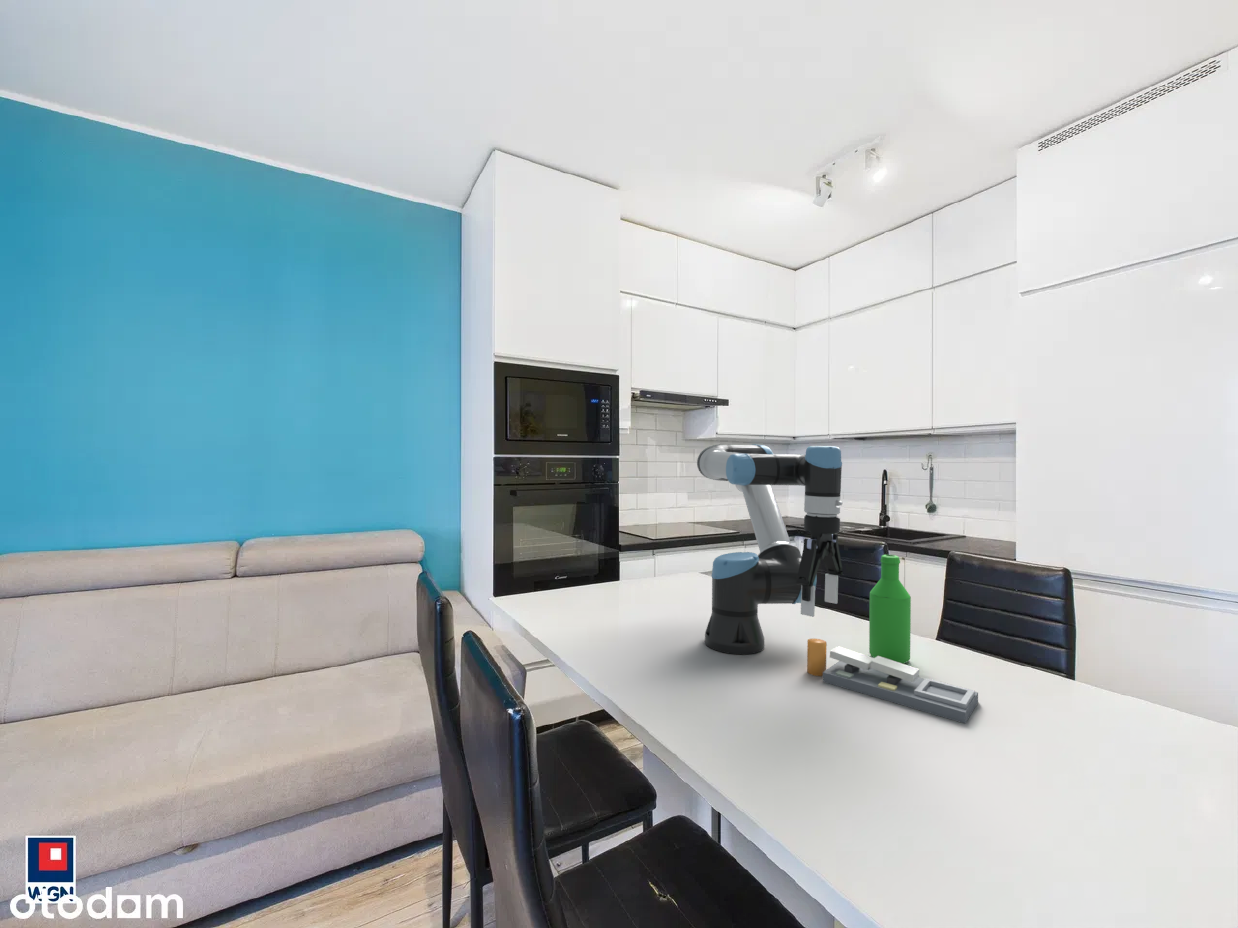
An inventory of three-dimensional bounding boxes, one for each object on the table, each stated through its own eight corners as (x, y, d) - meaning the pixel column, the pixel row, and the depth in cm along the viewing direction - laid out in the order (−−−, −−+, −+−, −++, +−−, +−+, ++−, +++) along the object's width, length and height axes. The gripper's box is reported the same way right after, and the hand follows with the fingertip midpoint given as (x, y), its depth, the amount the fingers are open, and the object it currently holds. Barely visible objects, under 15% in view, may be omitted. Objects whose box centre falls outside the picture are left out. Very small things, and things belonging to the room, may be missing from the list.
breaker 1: (829, 657, 115) (830, 650, 115) (837, 652, 118) (838, 645, 118) (867, 670, 109) (868, 663, 109) (874, 665, 113) (875, 658, 113)
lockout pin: (804, 672, 117) (804, 641, 117) (811, 667, 120) (811, 637, 120) (821, 677, 114) (822, 645, 114) (829, 672, 117) (829, 641, 117)
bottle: (906, 668, 120) (907, 560, 120) (865, 659, 125) (866, 555, 125) (912, 657, 127) (913, 555, 127) (873, 649, 132) (874, 551, 132)
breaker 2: (870, 667, 109) (870, 660, 109) (877, 662, 112) (877, 655, 112) (912, 682, 104) (913, 675, 104) (918, 676, 107) (919, 669, 107)
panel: (822, 681, 112) (822, 666, 112) (843, 666, 121) (843, 652, 121) (965, 723, 94) (965, 705, 94) (978, 702, 103) (978, 686, 103)
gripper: (816, 521, 105) (814, 625, 106) (858, 511, 124) (855, 600, 124) (781, 517, 110) (779, 617, 111) (826, 509, 129) (824, 594, 129)
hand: (819, 608), depth 118 cm, fingers open, 13 cm apart
